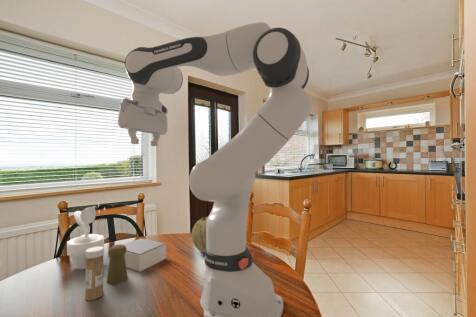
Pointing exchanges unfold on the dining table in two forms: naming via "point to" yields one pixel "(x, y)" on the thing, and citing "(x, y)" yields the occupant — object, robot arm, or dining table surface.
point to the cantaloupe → (200, 234)
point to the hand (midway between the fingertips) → (145, 145)
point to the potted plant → (84, 238)
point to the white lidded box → (144, 253)
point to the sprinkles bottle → (94, 273)
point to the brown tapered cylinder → (117, 265)
